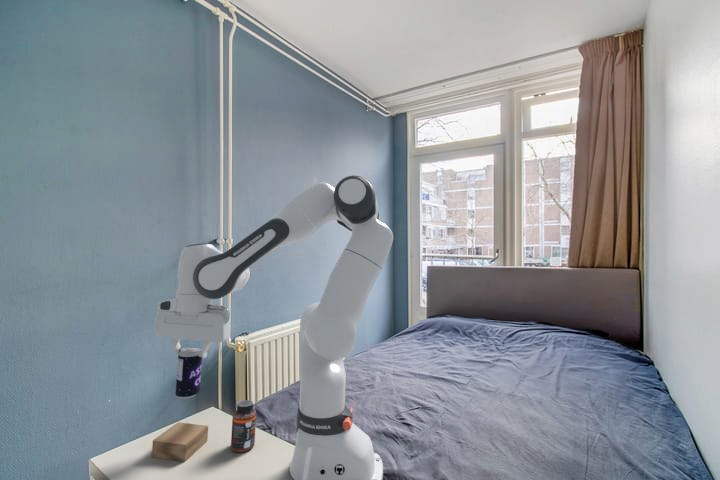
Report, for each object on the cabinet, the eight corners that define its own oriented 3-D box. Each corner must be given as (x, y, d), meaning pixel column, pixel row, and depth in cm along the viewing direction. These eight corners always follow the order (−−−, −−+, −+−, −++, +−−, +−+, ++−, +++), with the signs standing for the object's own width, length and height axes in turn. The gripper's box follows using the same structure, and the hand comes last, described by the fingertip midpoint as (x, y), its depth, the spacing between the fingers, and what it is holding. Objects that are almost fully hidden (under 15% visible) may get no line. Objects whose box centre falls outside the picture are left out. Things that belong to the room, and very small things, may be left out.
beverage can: (188, 401, 82) (192, 353, 82) (169, 398, 83) (173, 351, 83) (204, 392, 87) (207, 347, 88) (186, 390, 88) (189, 345, 89)
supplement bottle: (254, 452, 83) (256, 407, 84) (229, 455, 81) (232, 409, 82) (254, 439, 89) (257, 397, 89) (231, 441, 87) (234, 399, 88)
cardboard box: (207, 441, 87) (208, 425, 87) (184, 461, 78) (185, 444, 78) (177, 437, 88) (178, 422, 89) (151, 457, 80) (152, 440, 80)
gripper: (236, 304, 88) (233, 356, 87) (169, 299, 91) (165, 349, 90) (223, 308, 82) (219, 363, 81) (151, 302, 85) (147, 356, 84)
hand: (190, 356), depth 86 cm, fingers closed on beverage can, 6 cm apart
